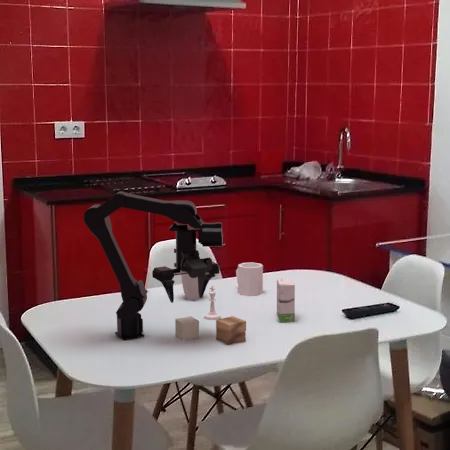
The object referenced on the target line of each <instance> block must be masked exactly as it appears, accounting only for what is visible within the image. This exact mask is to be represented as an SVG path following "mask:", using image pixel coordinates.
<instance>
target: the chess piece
mask: <svg viewBox="0 0 450 450" xmlns="http://www.w3.org/2000/svg"><path fill="white" fill-rule="evenodd" d="M209 290H211V291H209V292H208V294H209V297H210V298H209V299H208V301H209V302H210V308H209V312H207V313H205V314H204V319H205V320H209V321H210V320H212V321H216V320H218V319H221V314H219V313H217V312H216V309H215V307H216V306H215V302H216V298H215V296H216V288H214V285H211V286H210V287H209Z"/></svg>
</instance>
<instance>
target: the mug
mask: <svg viewBox="0 0 450 450" xmlns="http://www.w3.org/2000/svg"><path fill="white" fill-rule="evenodd" d="M235 274H236V280H237V281H236V282H237V292H238V294H239V296H246V297H253V296H254V297H257V295H258V296H260V295H263V294H262V293H263V292H264V287H263V286H264V285H263V283H264V280H263V279H264V265H263V264H262V263H257V262H253V261H252V262H242V263H239V264H237V269H236V270H235Z"/></svg>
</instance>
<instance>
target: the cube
mask: <svg viewBox="0 0 450 450" xmlns="http://www.w3.org/2000/svg"><path fill="white" fill-rule="evenodd" d="M174 320H175V325H174V326H175V329H174V330H175V331H174V332H175V336H176V337H177V338H179V339H180V340H182V341H188V340H192V339H197V338H200V321H199V320H198V319H196V318H195V317H193V316H185V317H180V318H175V319H174Z"/></svg>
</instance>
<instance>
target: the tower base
mask: <svg viewBox="0 0 450 450" xmlns="http://www.w3.org/2000/svg"><path fill="white" fill-rule="evenodd" d="M215 330H216V329H215ZM246 332H247V331H245V332H242V333H238V334H234V335H230V336H229V335H227V334H224V333H222V332H219V331H217V330H216V331H215V333H216V336H215V338H216V339H215V340H218V341H219V342H221V343H222V344H224V345H226V346H229V345H234V344H239V343H245V342H246Z"/></svg>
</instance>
